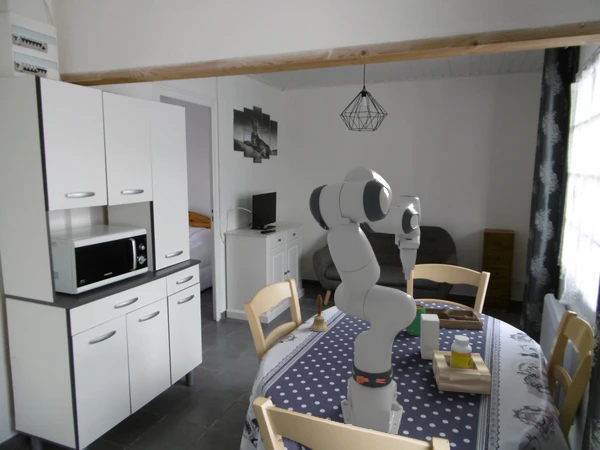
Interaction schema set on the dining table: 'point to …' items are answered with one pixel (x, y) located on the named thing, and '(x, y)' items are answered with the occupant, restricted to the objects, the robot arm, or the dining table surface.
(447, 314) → the kendama
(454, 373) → the birch tray frame
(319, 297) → the hand bell
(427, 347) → the skincare box
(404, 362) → the dining table surface
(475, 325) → the walnut tray frame
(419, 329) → the beverage can
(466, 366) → the supplement bottle
